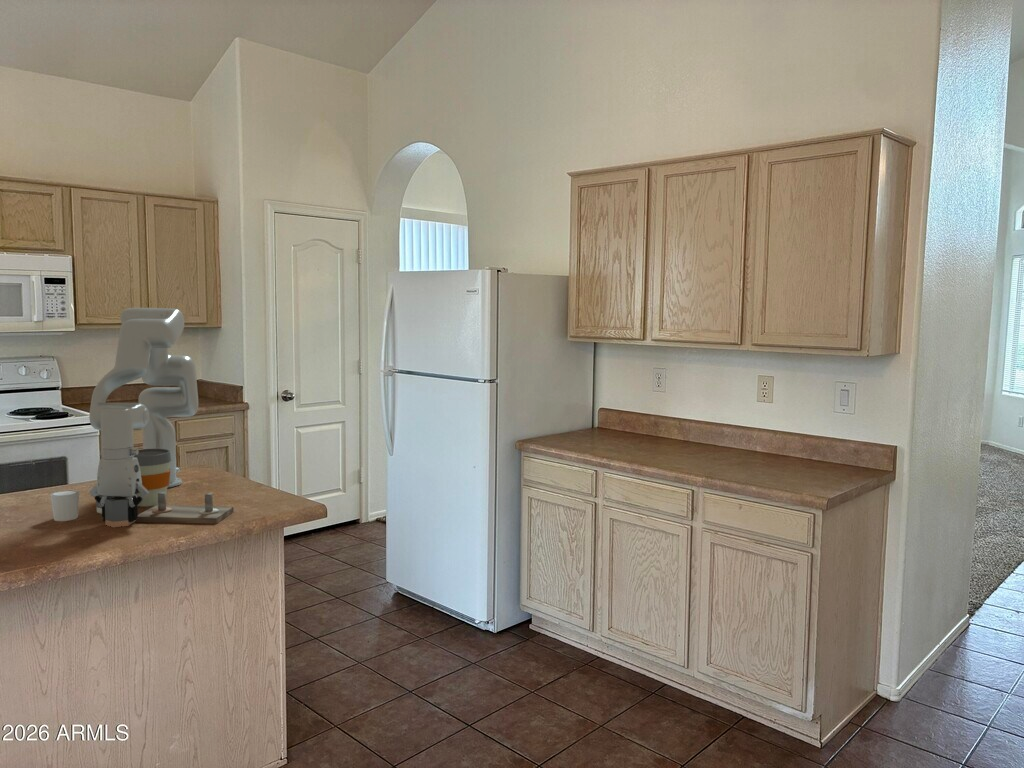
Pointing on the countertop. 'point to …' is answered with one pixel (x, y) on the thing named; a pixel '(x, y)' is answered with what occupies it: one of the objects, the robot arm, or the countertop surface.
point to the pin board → (185, 512)
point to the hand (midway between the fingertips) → (120, 519)
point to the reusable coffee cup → (154, 473)
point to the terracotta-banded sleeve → (117, 512)
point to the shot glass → (65, 505)
